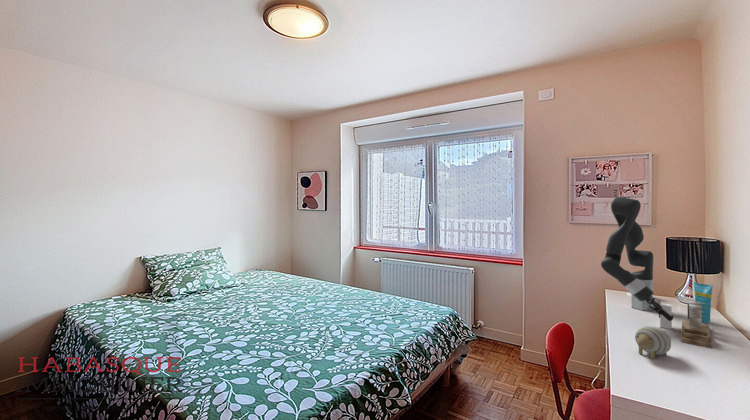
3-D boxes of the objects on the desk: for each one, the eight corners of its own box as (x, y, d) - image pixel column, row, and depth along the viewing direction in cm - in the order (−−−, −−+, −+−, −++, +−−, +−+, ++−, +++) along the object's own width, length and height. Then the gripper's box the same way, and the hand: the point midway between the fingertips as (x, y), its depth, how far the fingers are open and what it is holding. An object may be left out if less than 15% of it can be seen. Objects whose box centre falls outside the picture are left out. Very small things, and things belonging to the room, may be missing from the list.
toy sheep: (626, 353, 128) (626, 326, 128) (649, 345, 135) (649, 319, 134) (658, 365, 118) (658, 335, 118) (681, 355, 125) (681, 327, 125)
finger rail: (681, 341, 137) (680, 313, 137) (682, 323, 157) (681, 298, 157) (711, 347, 131) (711, 318, 130) (708, 328, 150) (708, 302, 150)
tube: (691, 319, 162) (690, 282, 161) (696, 318, 164) (695, 281, 163) (710, 324, 155) (710, 285, 155) (715, 322, 157) (715, 284, 156)
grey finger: (658, 326, 154) (658, 304, 153) (659, 325, 156) (659, 303, 156) (671, 329, 150) (671, 306, 150) (671, 327, 152) (671, 304, 152)
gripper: (644, 287, 153) (679, 318, 144) (646, 282, 163) (679, 311, 154) (630, 296, 157) (663, 327, 148) (633, 290, 167) (665, 319, 158)
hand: (671, 318), depth 151 cm, fingers closed on grey finger, 3 cm apart
